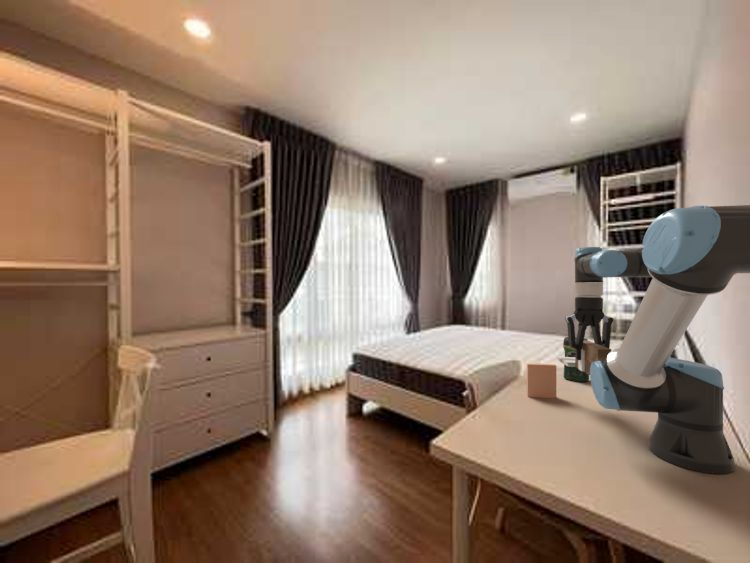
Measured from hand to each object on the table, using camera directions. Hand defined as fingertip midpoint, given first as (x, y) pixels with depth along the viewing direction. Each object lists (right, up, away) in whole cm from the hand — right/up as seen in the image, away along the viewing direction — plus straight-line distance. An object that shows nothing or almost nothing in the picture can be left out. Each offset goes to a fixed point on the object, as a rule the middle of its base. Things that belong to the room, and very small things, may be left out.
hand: (588, 370), depth 108 cm
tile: (-6, -15, +19) cm, 25 cm away
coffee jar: (+21, -15, +42) cm, 49 cm away
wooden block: (+1, 0, +3) cm, 3 cm away
